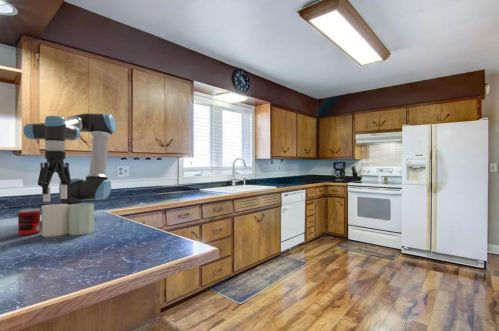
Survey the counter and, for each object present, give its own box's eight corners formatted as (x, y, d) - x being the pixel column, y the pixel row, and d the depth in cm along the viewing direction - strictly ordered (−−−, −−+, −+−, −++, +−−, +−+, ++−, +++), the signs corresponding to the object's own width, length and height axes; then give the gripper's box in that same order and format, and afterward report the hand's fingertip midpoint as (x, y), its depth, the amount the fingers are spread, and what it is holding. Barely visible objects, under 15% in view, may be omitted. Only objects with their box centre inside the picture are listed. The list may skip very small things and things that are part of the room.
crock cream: (53, 231, 125) (53, 203, 125) (73, 231, 125) (73, 203, 125) (36, 236, 116) (36, 207, 116) (57, 237, 115) (57, 207, 115)
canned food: (37, 230, 127) (37, 207, 127) (42, 233, 121) (42, 209, 121) (16, 234, 121) (16, 209, 121) (20, 237, 116) (20, 211, 116)
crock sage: (78, 229, 128) (78, 203, 128) (97, 230, 127) (97, 203, 127) (63, 235, 118) (63, 206, 118) (84, 235, 118) (84, 206, 118)
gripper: (65, 151, 131) (65, 197, 131) (26, 149, 110) (26, 203, 110) (79, 151, 131) (80, 197, 131) (43, 149, 109) (43, 203, 109)
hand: (55, 199), depth 120 cm, fingers open, 9 cm apart
